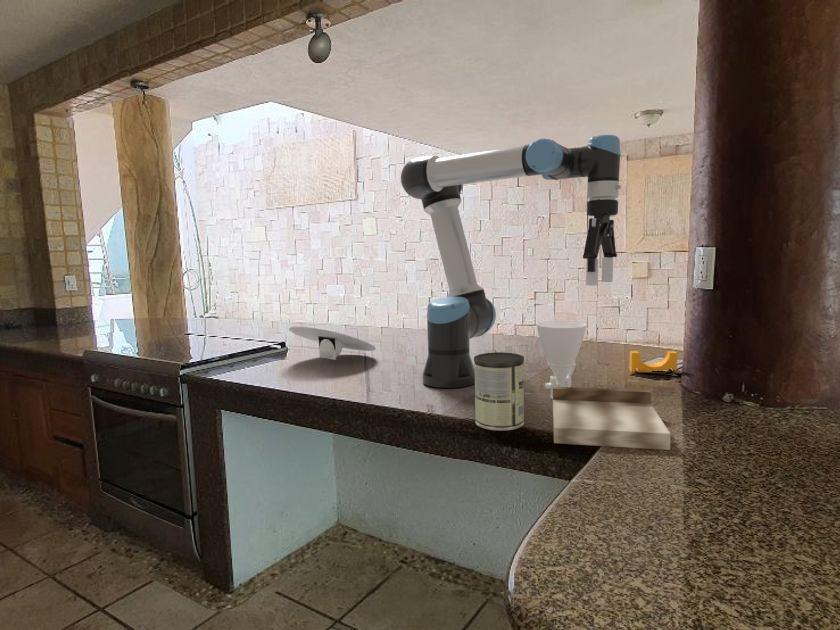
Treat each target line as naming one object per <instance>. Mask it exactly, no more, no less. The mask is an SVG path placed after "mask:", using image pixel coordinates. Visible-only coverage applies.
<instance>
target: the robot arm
mask: <svg viewBox="0 0 840 630" xmlns="http://www.w3.org/2000/svg"><path fill="white" fill-rule="evenodd" d="M620 165H621V140H620V138H619V136H617V135H614V134H599V135H597V136H596V135H595V136H592V137H590V138H589V139H588V144H587V145H585V146H581V147H572V148H570V147H569V148H568V147H565V146H564V145H561V144H560V143H558V142H556V141H554V140H553V139H550V138H539V139H536V140H533V142H531V143H530V144H522V145H517V146H511V147H510V146H509V147H504V148H496V149H492V150H486V151H485V150H484V151H481V152H480V151H479V152H478V151H477V152H471V153H465V154H460V155H454V156H447V157H441V158H440V157H439V156H438V155H435V154H434V155H429V156H420V157H415V158H412V159H410V160H409V161H407V162H406V164H404V166H403V168H402V170H401V173H400V182H401V186H402V189H403V190H404V192H406V194H407V195H408V196H410V197H412V198H414V199H417V200H421V204H422V207H423V211H424V213H426V214H428V215H429V216H430V218H431V219H430V220H431V223H432V226H433V231H434V235H435V238H436V241H437V246H438V251H439V256H440V258H441V263H442V267H443V270H444V274H445V278H446V282H447V285H448V290H449V292H448V294H447V296H446V297H438V298H436V299H435V298H434V299H433V300H431V301H429V303H428V304H427V309H426V310H427V311H426V321H427V324H426V325H427V326H426V327H427V353H428V354H427V358H426V361H425V365H424V368H423V372H422V383H423V384H425V385H426V386H429V387H433V388H441V389H442V388H443V389H445V388H446V389H448V388H449V389H451V388H452V389H453V388H455V389H456V388H464V387H469V386H472V385H475V365H474V363H473V360H472V357H471V354H470V345H471V343H470V339H473V338H477V337H481V336H483V335H485V334H486V333H488V332H489V331H491V329H492V328H493V326H494V325H495V322H496V318H497V311H496V308H495V305H494V304H493V302H492V301H491V300H489V299H488V298H487V296H486V292H485V289H484V287H482V286H480V285H479V284H478V281H477V278H476V273H475V269H474V266H473V262H472V258H471V254H470V250H469V246H468V243H467V239H466V234H465V229H464V227H463V222H462V218H461V215H460V211H459V206H460V205H461V203H462V198H461V193H462V191H463V189H464V188H463V187H464V186H463V185H469V184H476V183H485V182H492V181H499V180H508V179H513V178H521V177H530V176H531V177H532V176H542V178H543V179H544V180H547V181H551V180H552V181H559V180H564V179H565V180H566V179H576V178H587V184H586V185H587V188H586V190H587V192H586V199H588V201H587V202H586V215H587V217H590V218H589V219H588V229H587V233H586V240H585V245H584V250H583V255H582V259H585V260H586V265H585V266H586V267H585V269H586V270H585V271H586V272H585V273H586V274H585V286H598V284H599V262H600V261H599V258H598V256H599V252H600V248H601V249H602V250H601V251H602V254H603V257H601V282H602V283H613V281H614V280H613V279H614V278H613V276H614V275H613V273H614V258H617V257H618V253H617V251H616V240H615V239H616V238H615V230H614V229H615V225H614V224H615V221H614V219H610V218H611V216H616V215H618V214H619V200H618V199H617V198H618V197H619V190H620V189H621V188H622V186H621V184H620V168H621V167H620ZM592 217H593V218H592Z"/></svg>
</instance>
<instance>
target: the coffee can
mask: <svg viewBox="0 0 840 630" xmlns="http://www.w3.org/2000/svg"><path fill="white" fill-rule="evenodd" d="M473 362H474V363H473V366H474V369H475V383H474V405H475V407H474V408H475V409H474V410H475V411H474V412H475V421H474V423H475V424H476V426H477V427H479V428H481V429H485V430H489V431H499V432H500V431H501V432H503V431H505V432H506V431H512V430H518V429H519V428H522V427H523V426H524V425H525V416H524V415H525V409H524V408H525V401H524V397H525V396H524V395H525V394H524V392H525V390H524V388H525V387H524V386H525V385H524V381H525V380H524V372H525V371H524V369H525V368H524V362H525V357H524V356H523V355H521V354H517V353H513V352H501V351H500V352H499V351H497V352H485V353H484V352H483V353H480V354H477V355H475V356H473Z"/></svg>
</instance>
